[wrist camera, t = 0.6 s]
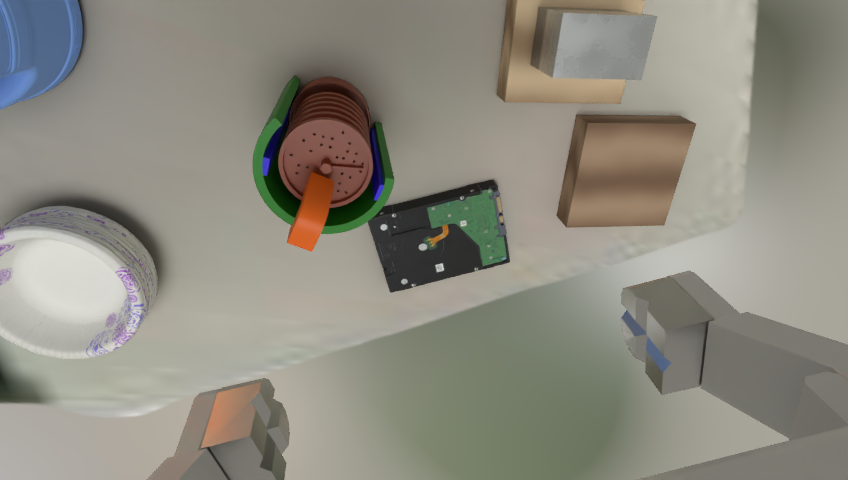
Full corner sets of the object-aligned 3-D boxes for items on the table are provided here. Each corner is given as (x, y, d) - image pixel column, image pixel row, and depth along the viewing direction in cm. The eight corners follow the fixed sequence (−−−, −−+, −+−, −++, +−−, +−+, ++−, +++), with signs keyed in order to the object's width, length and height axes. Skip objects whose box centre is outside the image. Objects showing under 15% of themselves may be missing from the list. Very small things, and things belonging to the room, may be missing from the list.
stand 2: (576, 115, 53) (588, 123, 51) (679, 116, 55) (696, 123, 52) (556, 215, 59) (566, 227, 56) (650, 213, 61) (664, 225, 58)
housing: (538, 6, 44) (563, 12, 39) (621, 10, 46) (657, 16, 40) (530, 64, 47) (552, 78, 42) (609, 66, 48) (641, 79, 43)
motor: (390, 93, 49) (412, 164, 32) (367, 174, 53) (377, 277, 36) (286, 63, 47) (250, 123, 30) (270, 151, 51) (231, 250, 33)
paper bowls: (-2, 183, 49) (-59, 219, 42) (166, 203, 52) (138, 240, 45) (23, 307, 56) (-22, 356, 49) (170, 319, 59) (146, 366, 52)
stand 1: (512, -40, 45) (522, -40, 43) (635, -33, 47) (652, -33, 44) (496, 94, 51) (505, 102, 48) (607, 96, 53) (620, 103, 50)
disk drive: (389, 281, 61) (506, 251, 61) (390, 295, 59) (512, 263, 59) (365, 208, 56) (493, 175, 56) (365, 220, 54) (499, 185, 53)
